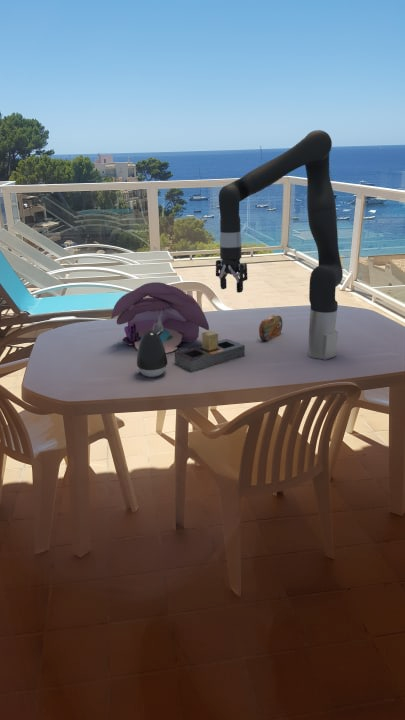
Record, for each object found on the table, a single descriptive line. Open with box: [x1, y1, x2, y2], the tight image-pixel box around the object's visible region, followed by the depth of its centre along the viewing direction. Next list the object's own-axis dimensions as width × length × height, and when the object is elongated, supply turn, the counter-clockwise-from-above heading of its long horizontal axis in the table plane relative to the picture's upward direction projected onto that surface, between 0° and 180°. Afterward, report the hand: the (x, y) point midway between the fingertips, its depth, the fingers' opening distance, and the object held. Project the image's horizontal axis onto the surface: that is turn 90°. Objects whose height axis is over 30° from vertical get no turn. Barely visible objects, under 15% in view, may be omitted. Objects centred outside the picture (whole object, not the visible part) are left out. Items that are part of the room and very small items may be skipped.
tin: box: [258, 314, 283, 342], centre depth 199 cm, size 15×3×8 cm, turn 143°
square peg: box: [201, 330, 219, 353], centre depth 176 cm, size 4×4×9 cm
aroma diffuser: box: [136, 330, 168, 378], centre depth 164 cm, size 10×10×15 cm
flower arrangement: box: [110, 281, 210, 354], centre depth 188 cm, size 35×24×28 cm
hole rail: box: [174, 338, 246, 373], centre depth 177 cm, size 24×10×4 cm, turn 127°
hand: (231, 290), depth 179 cm, fingers open, 8 cm apart
